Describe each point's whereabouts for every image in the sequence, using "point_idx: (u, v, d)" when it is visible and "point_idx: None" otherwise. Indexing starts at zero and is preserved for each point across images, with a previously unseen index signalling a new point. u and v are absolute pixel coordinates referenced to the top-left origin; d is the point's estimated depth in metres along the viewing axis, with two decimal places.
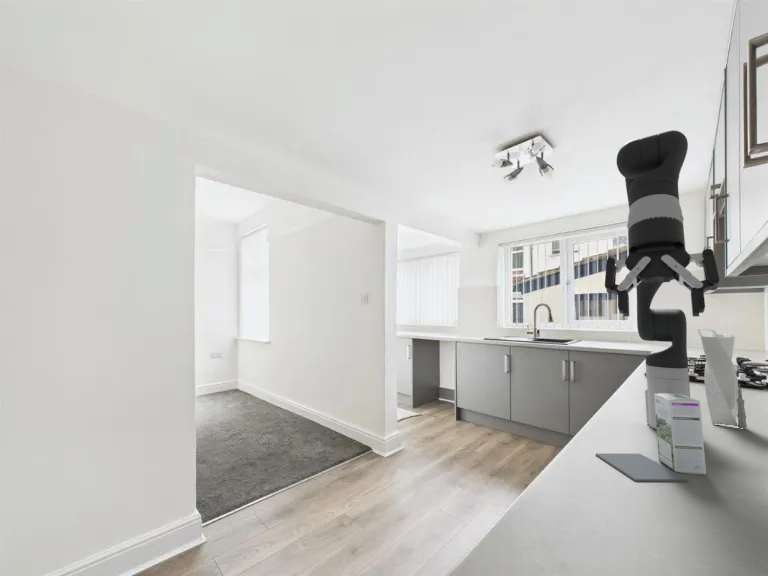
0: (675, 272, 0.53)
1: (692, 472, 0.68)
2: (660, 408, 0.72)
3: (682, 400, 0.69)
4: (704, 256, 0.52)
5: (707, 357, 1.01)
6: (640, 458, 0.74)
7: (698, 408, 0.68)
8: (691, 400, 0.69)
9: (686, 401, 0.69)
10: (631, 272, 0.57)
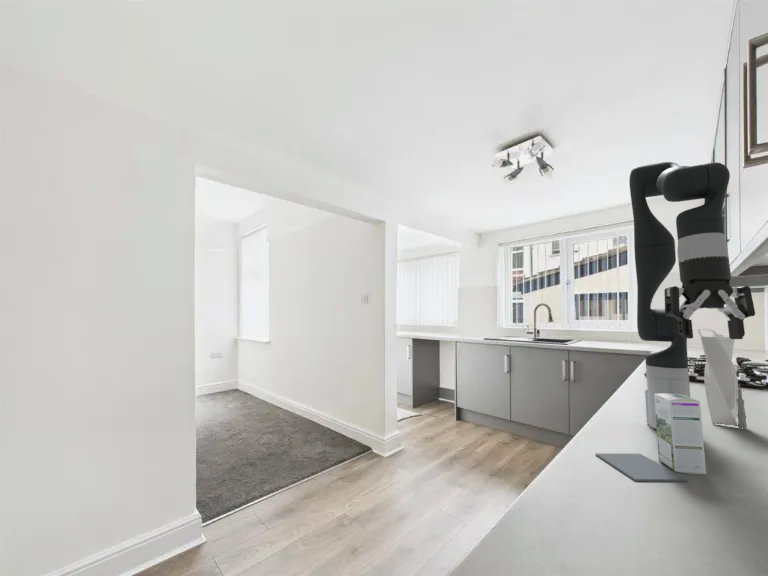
0: (726, 304, 0.67)
1: (692, 472, 0.68)
2: (660, 408, 0.72)
3: (682, 400, 0.69)
4: (744, 292, 0.66)
5: (707, 357, 1.01)
6: (640, 458, 0.74)
7: (698, 408, 0.68)
8: (691, 400, 0.69)
9: (686, 401, 0.69)
10: (695, 303, 0.67)
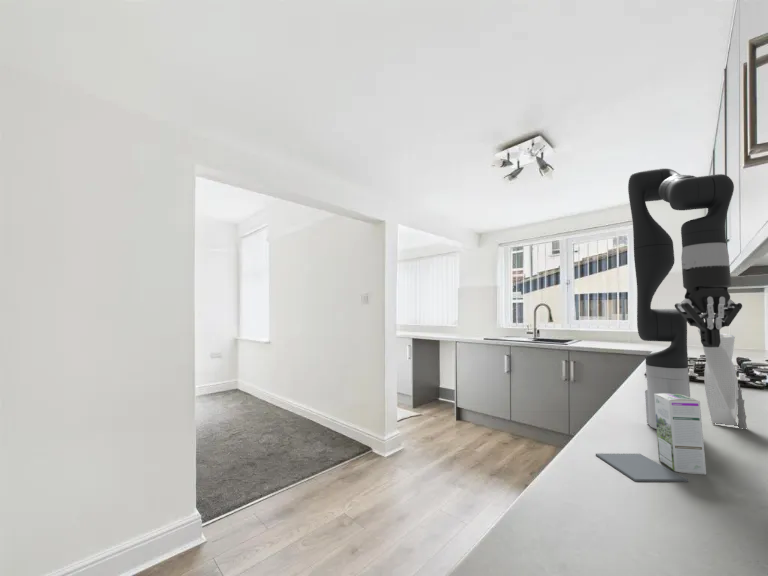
0: (716, 311, 0.72)
1: (692, 472, 0.68)
2: (660, 408, 0.72)
3: (682, 400, 0.69)
4: (735, 306, 0.72)
5: (707, 357, 1.01)
6: (640, 458, 0.74)
7: (698, 408, 0.68)
8: (691, 400, 0.69)
9: (686, 401, 0.69)
10: (709, 313, 0.71)
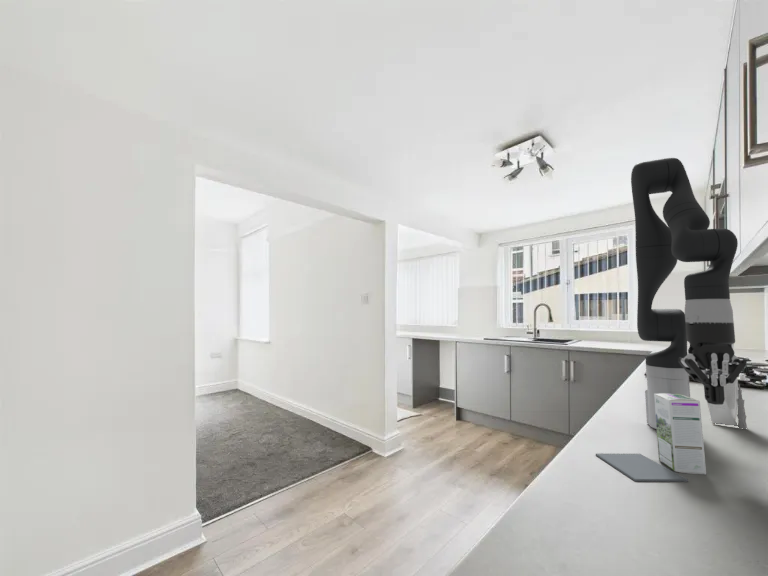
0: (720, 367, 0.71)
1: (692, 472, 0.68)
2: (660, 408, 0.72)
3: (682, 400, 0.69)
4: (740, 363, 0.71)
5: None
6: (640, 458, 0.74)
7: (698, 408, 0.68)
8: (691, 400, 0.69)
9: (686, 401, 0.69)
10: (713, 369, 0.70)
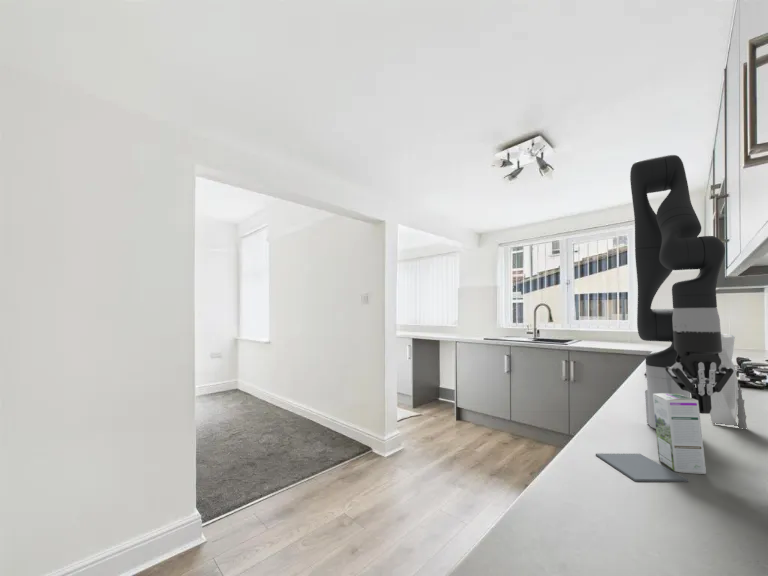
0: (707, 376, 0.70)
1: (692, 472, 0.68)
2: (659, 408, 0.72)
3: (680, 400, 0.69)
4: (727, 372, 0.71)
5: None
6: (640, 458, 0.74)
7: (696, 407, 0.68)
8: (689, 400, 0.69)
9: (684, 401, 0.69)
10: (700, 379, 0.70)
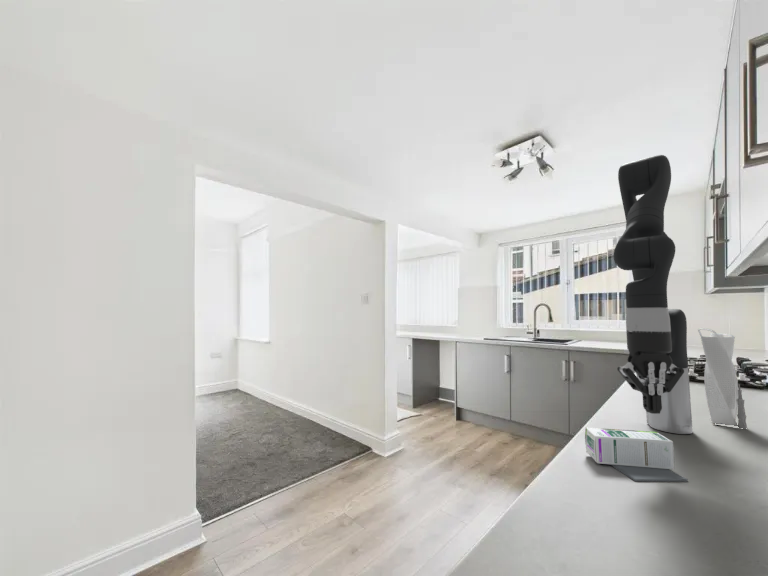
0: (657, 376, 0.70)
1: (672, 453, 0.69)
2: None
3: (596, 451, 0.71)
4: (677, 372, 0.71)
5: (707, 357, 1.01)
6: None
7: (603, 439, 0.71)
8: (595, 443, 0.71)
9: (597, 448, 0.71)
10: (650, 378, 0.70)
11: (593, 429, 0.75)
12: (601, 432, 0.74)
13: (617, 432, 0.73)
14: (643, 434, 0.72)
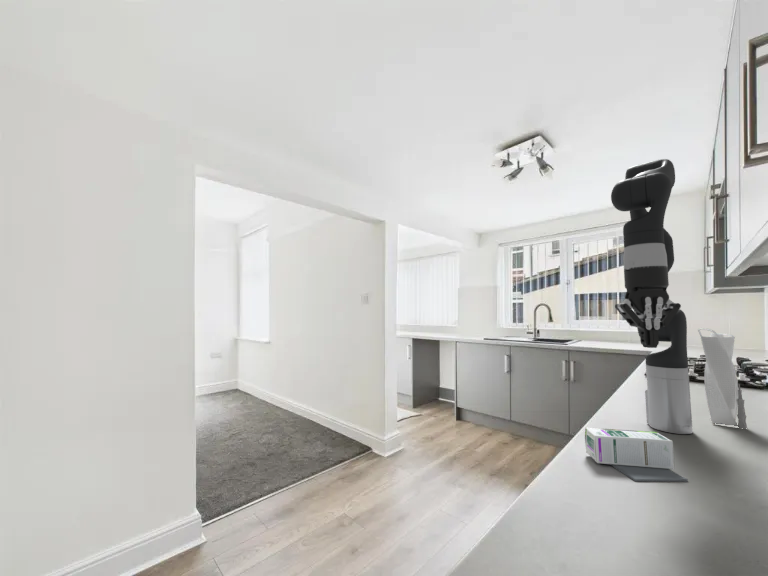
0: (654, 311, 0.72)
1: (672, 453, 0.69)
2: None
3: (596, 450, 0.71)
4: (674, 307, 0.72)
5: (707, 357, 1.01)
6: None
7: (603, 438, 0.71)
8: (595, 442, 0.72)
9: (596, 447, 0.71)
10: (647, 313, 0.71)
11: (593, 429, 0.76)
12: (601, 432, 0.74)
13: (617, 432, 0.74)
14: (643, 434, 0.72)
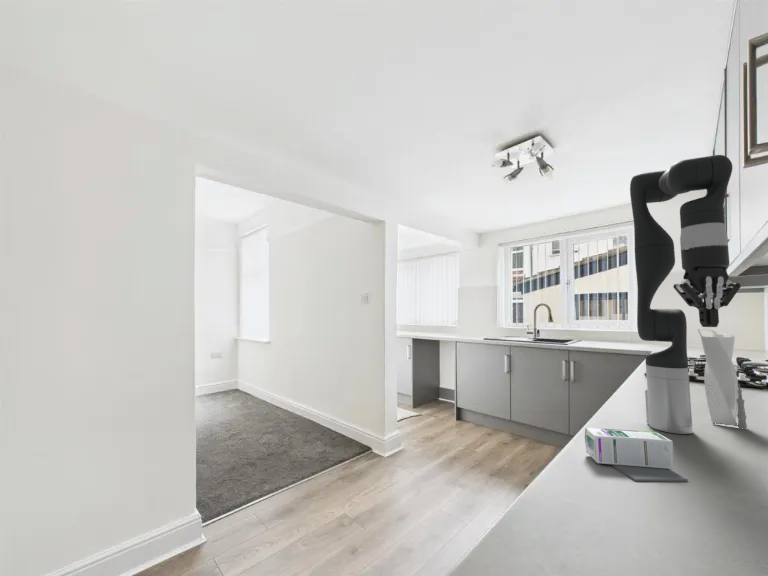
0: (714, 290, 0.72)
1: (672, 453, 0.69)
2: None
3: (596, 450, 0.71)
4: (734, 286, 0.72)
5: (707, 357, 1.01)
6: None
7: (603, 438, 0.71)
8: (595, 442, 0.72)
9: (596, 447, 0.71)
10: (707, 292, 0.72)
11: (593, 429, 0.76)
12: (601, 432, 0.74)
13: (617, 432, 0.74)
14: (643, 434, 0.72)
